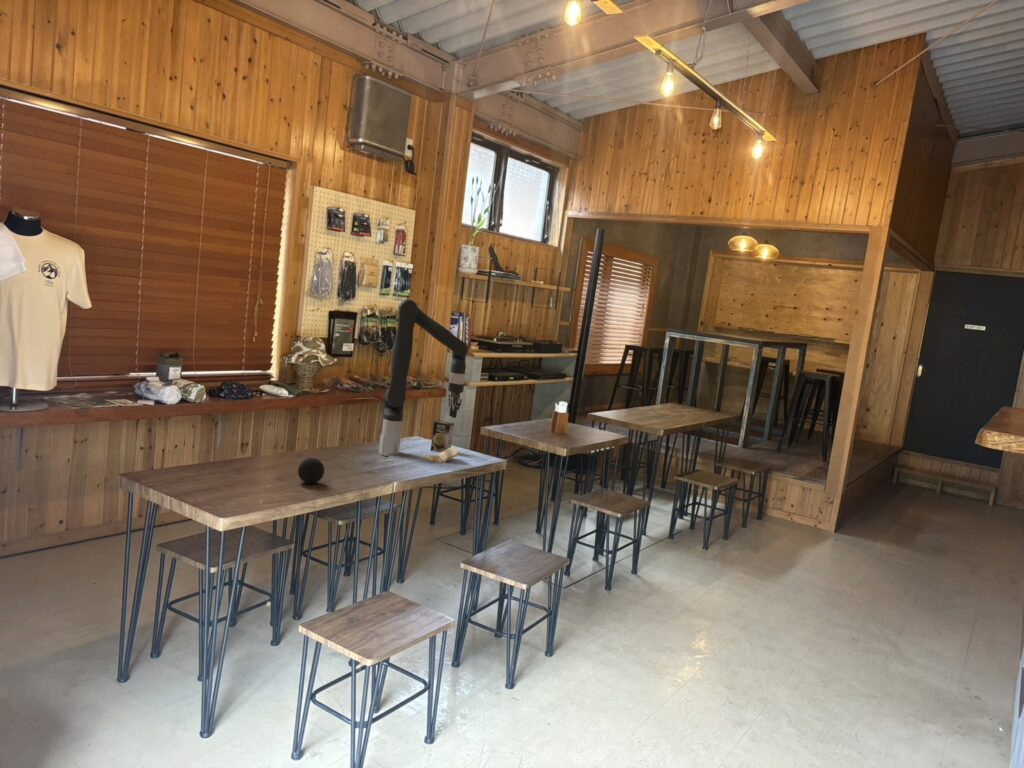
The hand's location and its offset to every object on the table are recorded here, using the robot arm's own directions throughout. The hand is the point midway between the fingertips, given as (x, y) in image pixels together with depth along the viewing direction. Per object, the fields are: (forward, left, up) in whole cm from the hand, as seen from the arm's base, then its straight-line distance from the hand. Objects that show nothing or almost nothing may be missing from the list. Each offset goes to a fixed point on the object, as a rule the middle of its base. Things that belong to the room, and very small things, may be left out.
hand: (452, 416), depth 356 cm
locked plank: (-10, -7, -20) cm, 24 cm away
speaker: (-73, -47, -21) cm, 89 cm away
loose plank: (-2, -7, -18) cm, 19 cm away
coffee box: (0, +12, -21) cm, 24 cm away
